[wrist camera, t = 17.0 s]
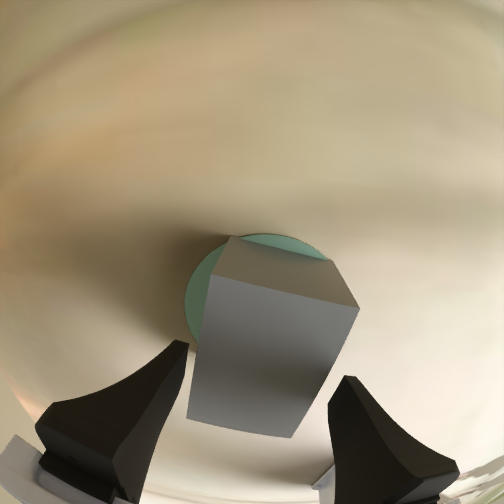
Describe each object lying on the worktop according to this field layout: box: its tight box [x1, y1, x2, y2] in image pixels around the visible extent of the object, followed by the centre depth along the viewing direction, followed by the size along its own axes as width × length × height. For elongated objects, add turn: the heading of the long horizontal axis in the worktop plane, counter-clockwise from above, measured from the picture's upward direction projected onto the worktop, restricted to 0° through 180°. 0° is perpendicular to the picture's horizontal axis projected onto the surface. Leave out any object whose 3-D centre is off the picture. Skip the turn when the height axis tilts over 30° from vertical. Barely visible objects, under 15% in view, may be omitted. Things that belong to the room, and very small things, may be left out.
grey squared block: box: [186, 235, 360, 438], centre depth 14 cm, size 9×6×6 cm, turn 167°
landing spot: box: [184, 234, 328, 343], centre depth 17 cm, size 10×10×1 cm
